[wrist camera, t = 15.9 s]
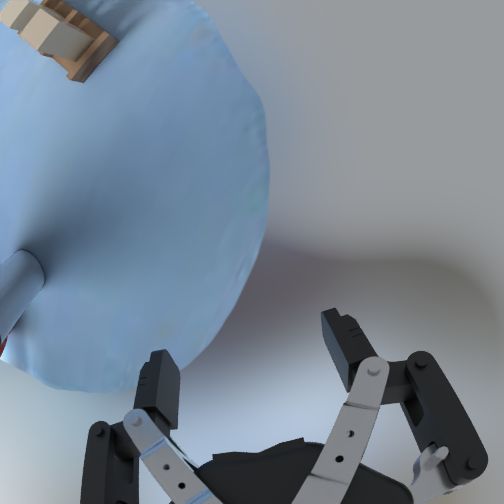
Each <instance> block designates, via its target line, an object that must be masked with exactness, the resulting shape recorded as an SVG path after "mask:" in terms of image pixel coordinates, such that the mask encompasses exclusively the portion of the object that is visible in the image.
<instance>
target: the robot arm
mask: <svg viewBox="0 0 504 504" xmlns="http://www.w3.org/2000/svg"><path fill="white" fill-rule="evenodd" d="M44 280H45V278H44V272H43V269H42V267H41V265H40V263H39V262H38V260H37V259H36V258H35V257H34V256H33V255H32V254H30V253H29V252H27V251H24V250H19V251H17V252H15V253H14V254H13V255H12V256H11V257H10V258H9V259H7V260H6V261H5V262H4V263H3V264H2V265H1V266H0V346H1V344H2V343H3V341H4V340H5V338H6V337H7V335H8V334H9V332H10V330H11V329H12V327H13V326H14V325H15V323H16V322H17V320H18V319H19V317H20V316H21V315H22V313H23V312H24V311H25V309H26V308H27V307H28V305H29V304H30V303H31V301H32V300H33V299H34V297H35V296H36V295H37V294H38V292H39V291H40V290H41V289H42V287H43V285H44ZM321 322H322V332H323V337H324V341H325V344H326V346H327V348H328V351H329V353H330V355H331V357H332V360H333V362H334V364H335V366H336V368H337V371H338V373H339V375H340V377H341V380H342V382H343V384H344V387H345V389H346V391H347V393H348V392H350V393H349V396H348V398H347V401H346V403H344V404H343V406H342V408H341V410H340V413H339V415H338V417H337V420H336V422H335V424H334V426H333V429H332V431H331V433H330V435H329V437H328V440H327V442H326V444H322V443H316V442H304V438H303V437H302V438H299V439H295V440H291V441H287V442H282V443H279V444H277V445H275V446H273V447H271V448H268V449H266V450H264V451H262V452H259V453H247V452H228V453H220V454H213V460H211V461H209V462H207V463H205V464H203V465H202V466H200V467H199V466H198V465H196V464H195V463H194V462H193V461H192V460H191V459H190V458H189V457H188V456H187V455H186V453H185V452H184V451H183V450H182V449H181V448H180V447H179V445H177V443H176V442H175V441H174V440H173V438H172V437H171V436H170V430H173V429H177V428H178V407H179V390H180V372H179V369H178V367H177V365H176V364H175V362H174V361H173V359H172V357H171V356H170V354H169V353H168V351H167V350H166V349H164V350H158V351H153V352H151V356H150V361H149V362H145V364H144V365H143V367H142V369H141V371H140V375H139V380H138V386H137V391H136V396H135V402H134V408H133V410H131V411H130V412H128V413H127V414H126V415H125V417H124V420H123V421H121V422H119V423H116V424H113V425H109V424H108V423H106V422H104V421H98V422H96V423H94V424H93V425H92V426H91V428H90V430H89V434H88V440H87V447H86V453H85V460H84V467H83V477H82V487H81V500H80V504H139V457H140V458H141V460H142V461H143V463H144V464H145V466H146V467H147V468H148V470H149V471H150V473H151V474H152V475H153V477H154V478H155V479H156V481H157V482H158V483H159V484H160V486H161V487H162V488H163V490H164V491H165V492H166V493H167V495H168V496H169V497H170V498H171V499H172V501H171V502H170V503H169V504H425V503H427V502H429V501H431V500H433V499H435V498H436V497H438V496H440V495H445V494H449V493H451V492H453V491H455V490H457V489H458V488H460V487H462V486H464V485H466V484H467V483H469V482H471V481H472V480H474V479H475V478H477V477H479V476H480V475H481V474H482V473H483V472H484V471H485V469H486V467H487V464H488V455H487V453H486V450H485V448H484V446H483V444H482V442H481V440H480V438H479V436H478V434H477V432H476V430H475V428H474V426H473V424H472V422H471V420H470V418H469V417H468V415H467V413H466V411H465V409H464V407H463V406H462V404H461V402H460V400H459V398H458V397H457V395H456V393H455V392H454V390H453V388H452V386H451V385H450V383H449V381H448V380H447V378H446V376H445V375H444V373H443V372H442V370H441V368H440V367H439V365H438V363H437V362H436V360H435V359H434V357H433V356H432V355H431V354H430V353H428V352H425V351H417V352H414V353H412V354H411V355H410V356H409V357H408V359H407V360H405V361H397V362H389V361H385V360H384V359H383V358H381V357H379V356H378V355H377V354H376V352H375V351H374V349H373V347H372V346H371V344H370V343H369V341H368V339H367V338H366V336H365V334H364V333H363V331H362V329H361V328H360V326H359V324H358V323H357V321H356V320H355V319H354V318H352V317H351V316H349V315H344V316H340V314H339V313H338V311H337V310H336V308H332V309H329V310H326V311H323V312H321ZM392 403H400V405H401V407H402V410H403V412H404V414H405V416H406V419H407V421H408V423H409V426H410V428H411V430H412V433H413V435H414V437H415V440H416V442H417V445H418V447H419V450H420V452H421V455H420V456H419V457H418V458H417V460H416V461H415V463H414V465H413V473H414V478H413V481H412V483H411V485H410V486H409V487H406V486H405V485H404V484H402V483H400V482H398V481H396V480H394V479H392V478H390V477H388V476H385V475H383V474H381V473H379V472H377V471H375V470H373V469H371V468H369V467H367V466H365V465H363V464H362V463H360V462H361V460H362V457H363V455H364V452H365V450H366V447H367V444H368V441H369V439H370V436H371V433H372V430H373V427H374V424H375V421H376V418H377V415H378V411H379V409H380V405H384V404H392Z"/></svg>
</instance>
